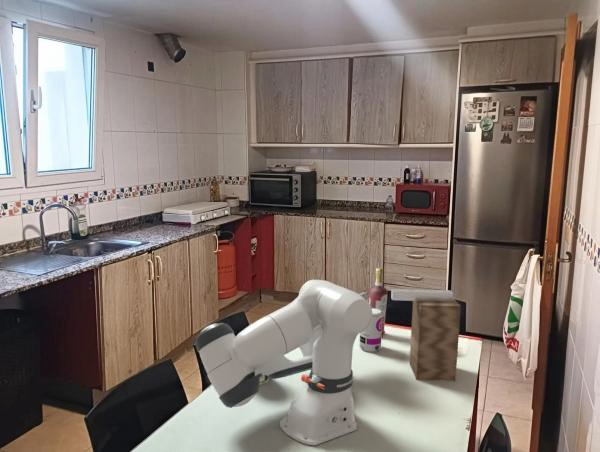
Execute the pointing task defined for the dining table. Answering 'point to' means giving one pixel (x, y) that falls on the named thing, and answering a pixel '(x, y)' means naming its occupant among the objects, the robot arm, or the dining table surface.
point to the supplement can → (372, 333)
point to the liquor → (379, 296)
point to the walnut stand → (434, 339)
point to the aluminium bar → (421, 295)
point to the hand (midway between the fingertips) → (367, 298)
